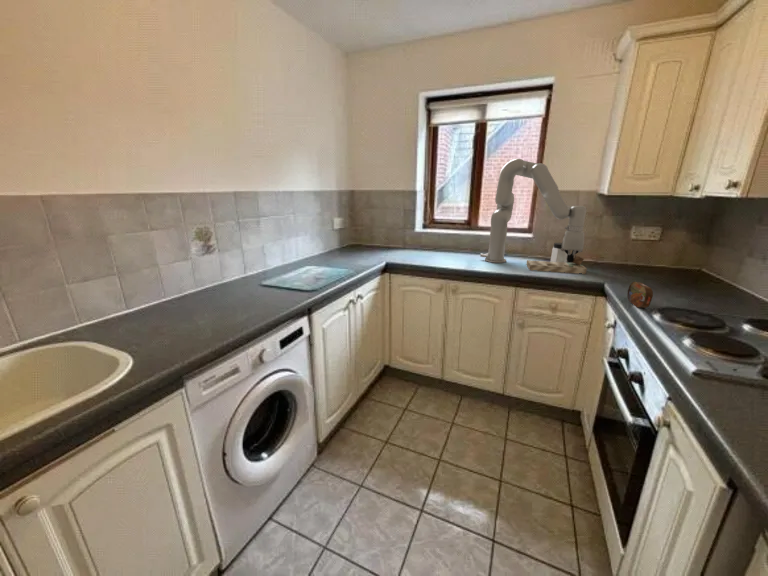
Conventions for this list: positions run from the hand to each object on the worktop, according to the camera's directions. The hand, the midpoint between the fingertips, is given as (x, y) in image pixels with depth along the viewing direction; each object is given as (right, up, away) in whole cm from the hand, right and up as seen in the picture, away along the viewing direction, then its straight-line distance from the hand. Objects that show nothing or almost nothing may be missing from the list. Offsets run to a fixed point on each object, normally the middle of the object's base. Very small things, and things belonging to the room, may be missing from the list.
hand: (569, 261), depth 185 cm
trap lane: (-8, -4, 0) cm, 9 cm away
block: (+3, -1, -1) cm, 3 cm away
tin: (-5, -22, -55) cm, 59 cm away
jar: (+2, 0, +16) cm, 16 cm away
